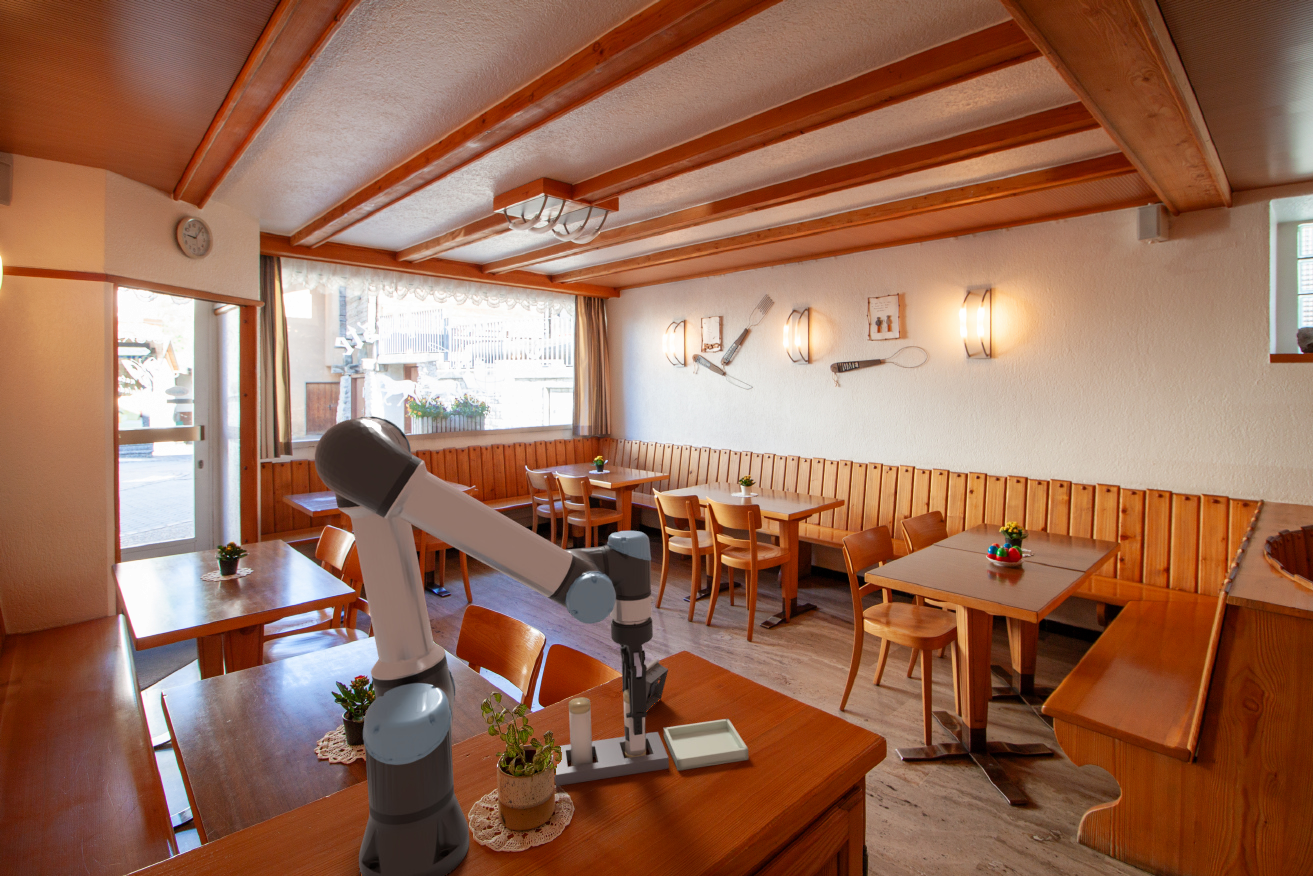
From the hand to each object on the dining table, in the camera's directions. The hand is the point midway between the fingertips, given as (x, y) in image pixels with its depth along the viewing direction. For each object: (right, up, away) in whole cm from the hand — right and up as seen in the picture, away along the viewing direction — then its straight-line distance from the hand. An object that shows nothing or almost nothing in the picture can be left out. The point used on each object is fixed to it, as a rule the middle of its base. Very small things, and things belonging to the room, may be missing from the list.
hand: (635, 742), depth 117 cm
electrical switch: (+2, -2, +20) cm, 20 cm away
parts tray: (+13, -3, +3) cm, 14 cm away
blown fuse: (0, -3, 0) cm, 3 cm away
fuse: (-10, -4, -2) cm, 10 cm away
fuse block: (-5, -3, -1) cm, 6 cm away
